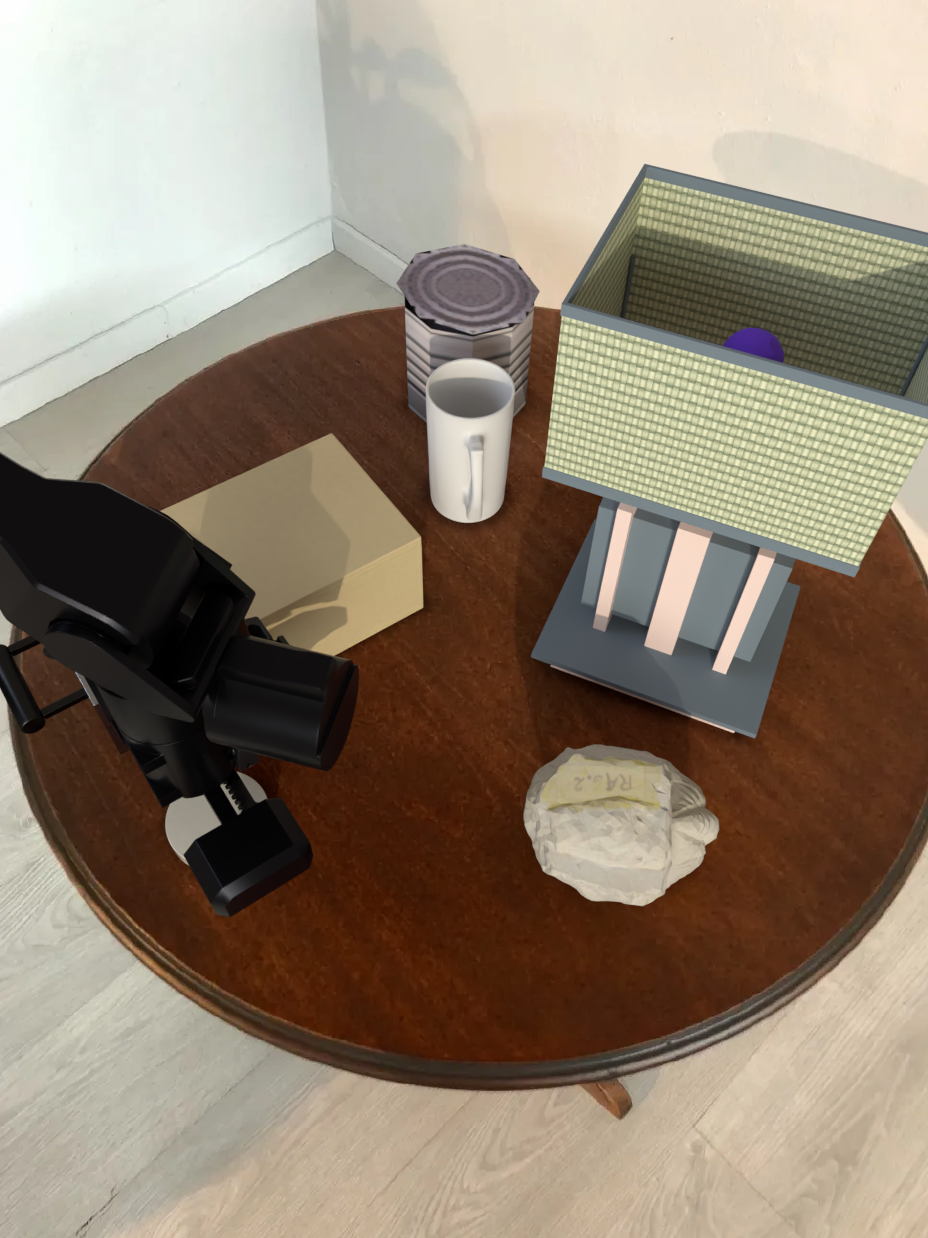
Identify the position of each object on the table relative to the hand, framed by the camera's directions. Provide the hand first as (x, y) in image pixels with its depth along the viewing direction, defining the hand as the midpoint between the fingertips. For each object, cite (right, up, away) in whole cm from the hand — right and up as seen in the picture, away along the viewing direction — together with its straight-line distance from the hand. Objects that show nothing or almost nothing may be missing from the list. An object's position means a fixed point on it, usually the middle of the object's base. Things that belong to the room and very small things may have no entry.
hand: (218, 819), depth 67 cm
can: (+16, +34, +26) cm, 46 cm away
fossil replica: (+26, -2, +1) cm, 26 cm away
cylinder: (0, -1, +1) cm, 1 cm away
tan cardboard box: (+4, +15, +12) cm, 20 cm away
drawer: (-7, +10, +7) cm, 14 cm away
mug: (+17, +22, +18) cm, 33 cm away
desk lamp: (+32, +12, +11) cm, 35 cm away
